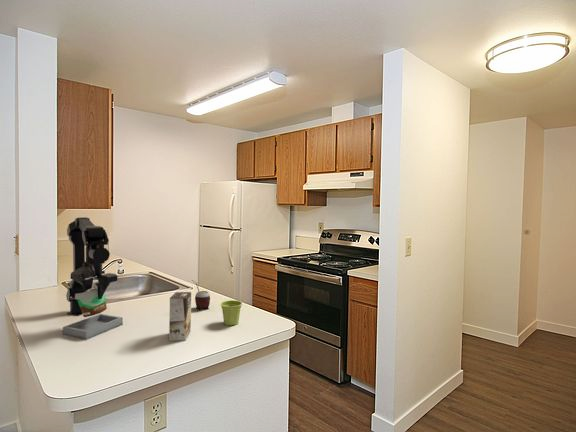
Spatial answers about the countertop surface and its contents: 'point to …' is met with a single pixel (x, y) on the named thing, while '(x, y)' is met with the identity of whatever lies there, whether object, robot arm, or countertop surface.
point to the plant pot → (231, 311)
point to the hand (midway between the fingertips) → (94, 297)
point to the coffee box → (180, 316)
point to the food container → (91, 302)
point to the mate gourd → (202, 299)
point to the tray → (92, 326)
